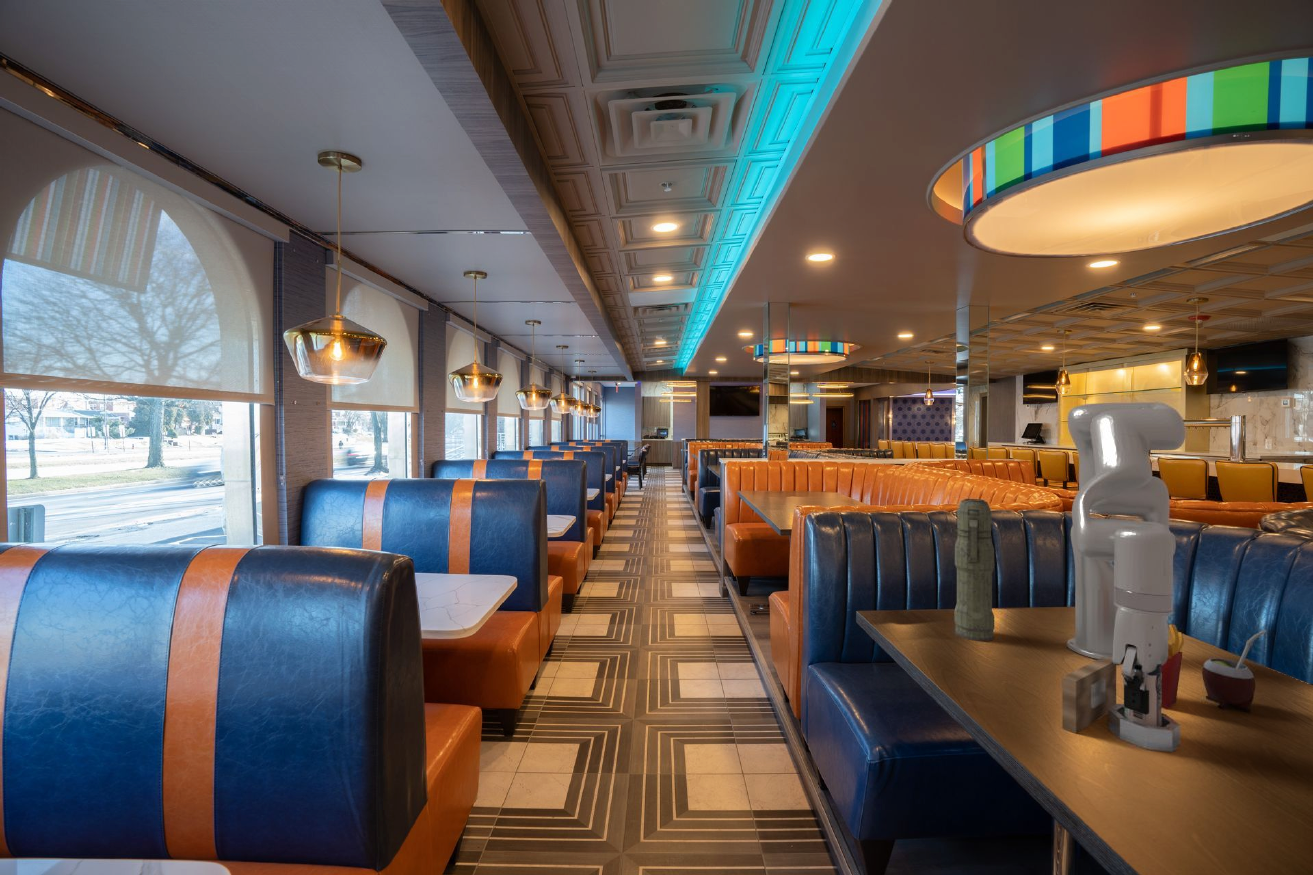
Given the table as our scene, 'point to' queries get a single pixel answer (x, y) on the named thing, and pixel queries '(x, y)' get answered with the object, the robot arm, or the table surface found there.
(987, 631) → the thermos
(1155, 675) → the beer can
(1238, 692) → the mate gourd
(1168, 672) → the french fries
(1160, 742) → the grey octagonal ring
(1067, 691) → the brown flat block
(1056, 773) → the table surface
